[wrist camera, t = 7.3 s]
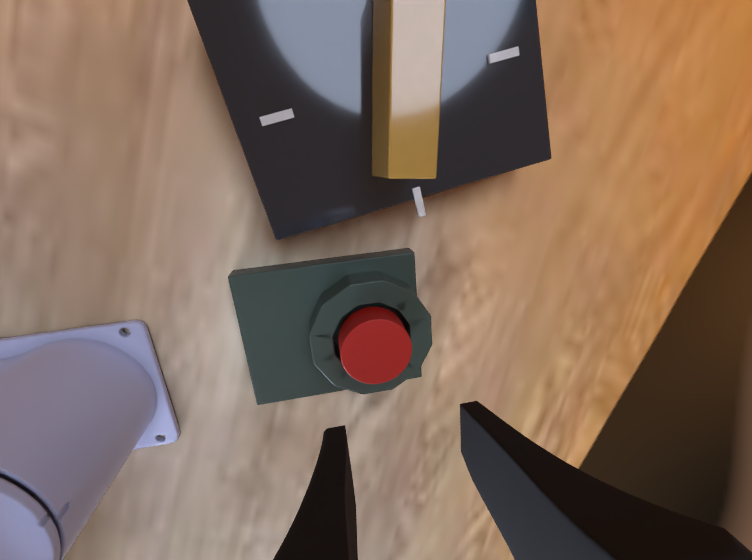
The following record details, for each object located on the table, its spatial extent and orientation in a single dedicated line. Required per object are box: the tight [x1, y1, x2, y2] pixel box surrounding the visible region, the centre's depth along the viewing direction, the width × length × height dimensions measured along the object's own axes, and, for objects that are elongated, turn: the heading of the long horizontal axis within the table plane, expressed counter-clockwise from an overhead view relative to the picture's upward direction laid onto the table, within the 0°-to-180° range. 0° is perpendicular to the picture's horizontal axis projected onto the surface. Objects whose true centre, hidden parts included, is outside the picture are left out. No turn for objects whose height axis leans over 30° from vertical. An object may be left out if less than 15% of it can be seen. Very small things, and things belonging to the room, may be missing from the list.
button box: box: [228, 248, 432, 405], centre depth 21 cm, size 10×8×3 cm
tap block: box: [187, 0, 551, 240], centre depth 17 cm, size 14×12×3 cm
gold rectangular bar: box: [372, 0, 446, 179], centre depth 14 cm, size 8×2×4 cm, turn 0°
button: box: [338, 306, 412, 384], centre depth 19 cm, size 4×4×2 cm
